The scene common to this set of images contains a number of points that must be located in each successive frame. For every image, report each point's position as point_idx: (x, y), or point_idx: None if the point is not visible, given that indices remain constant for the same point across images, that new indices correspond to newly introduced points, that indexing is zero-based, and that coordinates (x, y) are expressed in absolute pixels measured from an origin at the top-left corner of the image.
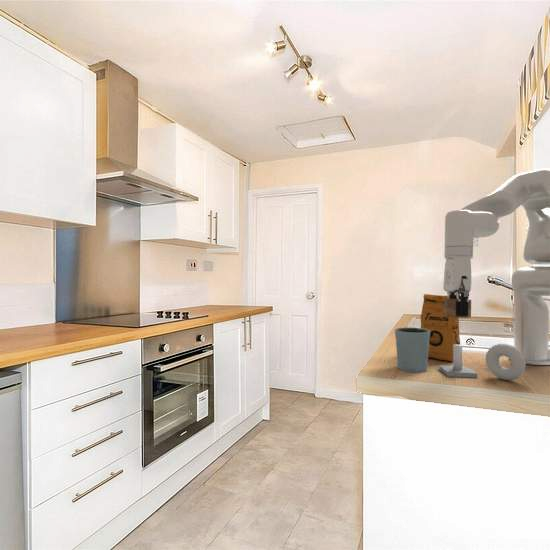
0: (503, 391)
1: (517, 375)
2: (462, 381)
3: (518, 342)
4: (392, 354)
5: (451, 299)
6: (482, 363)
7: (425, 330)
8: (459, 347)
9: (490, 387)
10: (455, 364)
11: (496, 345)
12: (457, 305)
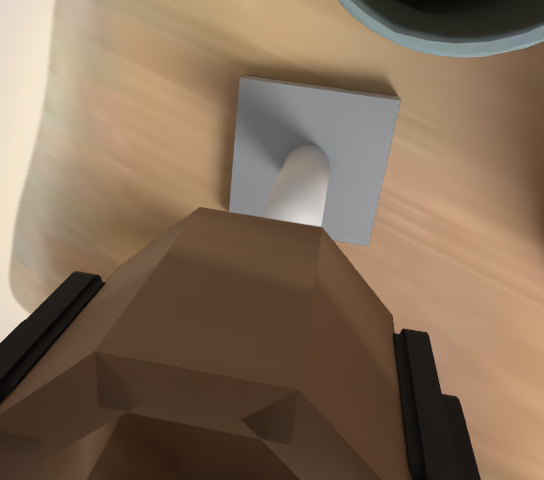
0: (37, 203)
1: None
2: (159, 109)
3: None
4: None
5: (79, 406)
6: (505, 383)
7: (514, 33)
8: (264, 211)
9: (83, 184)
10: (290, 156)
11: None
12: (2, 357)
